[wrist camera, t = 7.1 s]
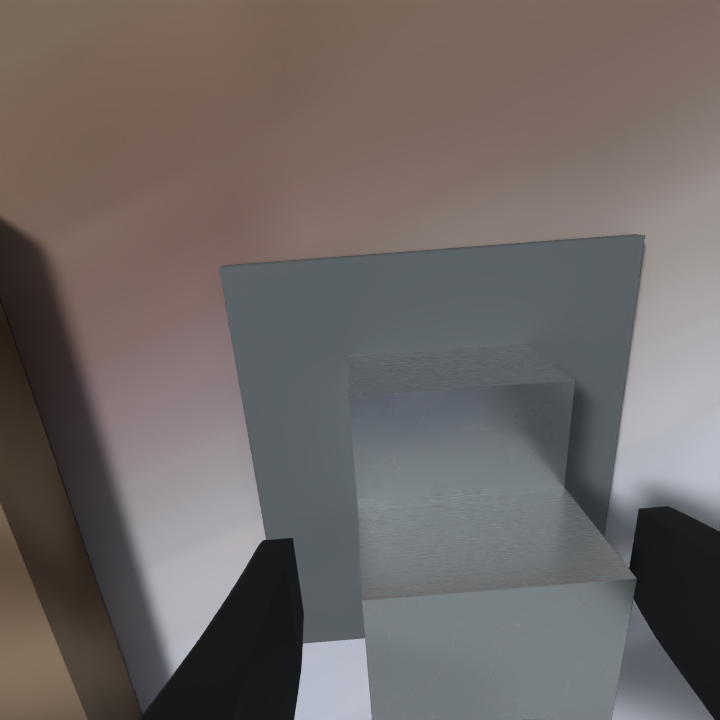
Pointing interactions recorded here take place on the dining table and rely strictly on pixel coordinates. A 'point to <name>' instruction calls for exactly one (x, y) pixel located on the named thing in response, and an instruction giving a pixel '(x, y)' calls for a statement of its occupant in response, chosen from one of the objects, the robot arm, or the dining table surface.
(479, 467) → the grey stepped block
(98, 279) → the dining table surface
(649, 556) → the robot arm
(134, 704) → the body
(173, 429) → the dining table surface
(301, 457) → the mat
